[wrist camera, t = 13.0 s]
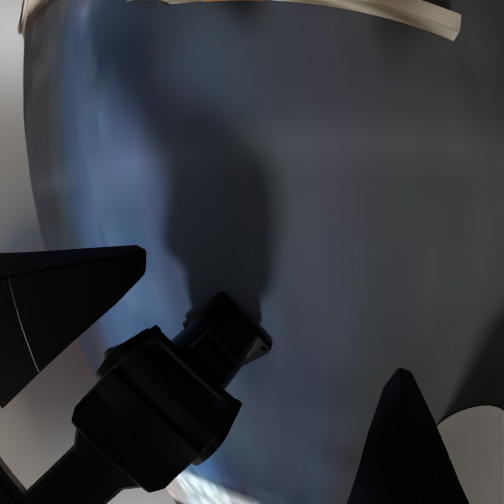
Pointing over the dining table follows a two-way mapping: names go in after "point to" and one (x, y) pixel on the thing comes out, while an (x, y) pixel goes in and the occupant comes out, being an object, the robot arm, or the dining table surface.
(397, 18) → the beige u-shaped frame
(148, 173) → the dining table surface
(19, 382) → the robot arm
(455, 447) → the mug
